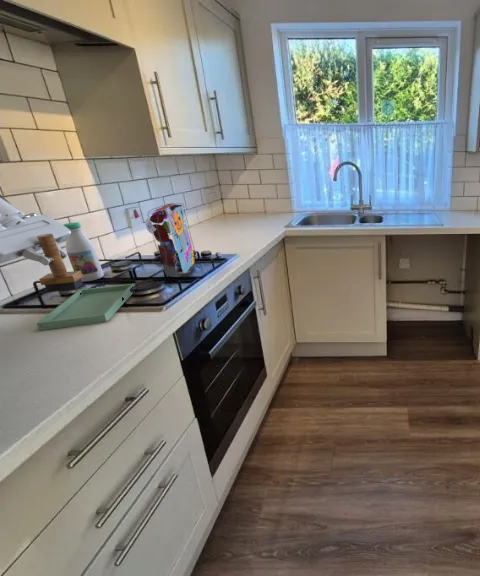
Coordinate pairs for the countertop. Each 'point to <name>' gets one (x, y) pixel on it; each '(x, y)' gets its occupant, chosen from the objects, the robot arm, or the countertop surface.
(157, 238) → the box
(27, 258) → the robot arm
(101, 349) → the countertop surface
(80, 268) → the milk bottle
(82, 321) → the tray
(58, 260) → the stamp
